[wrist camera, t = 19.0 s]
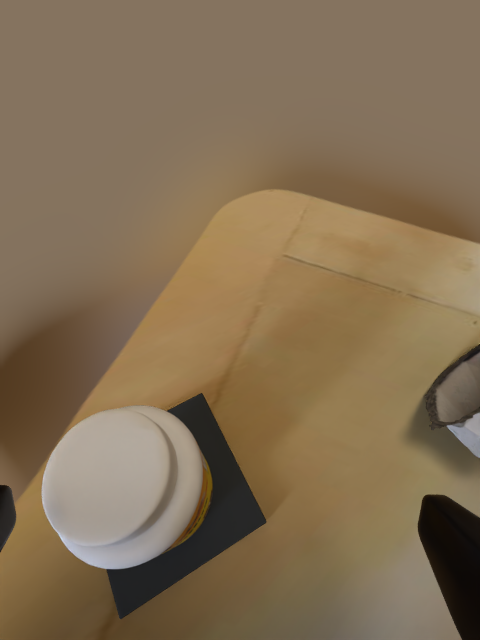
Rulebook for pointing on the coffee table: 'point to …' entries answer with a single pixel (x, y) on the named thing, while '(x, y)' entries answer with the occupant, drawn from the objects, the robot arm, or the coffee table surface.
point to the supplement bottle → (126, 486)
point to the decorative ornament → (458, 400)
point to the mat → (215, 531)
